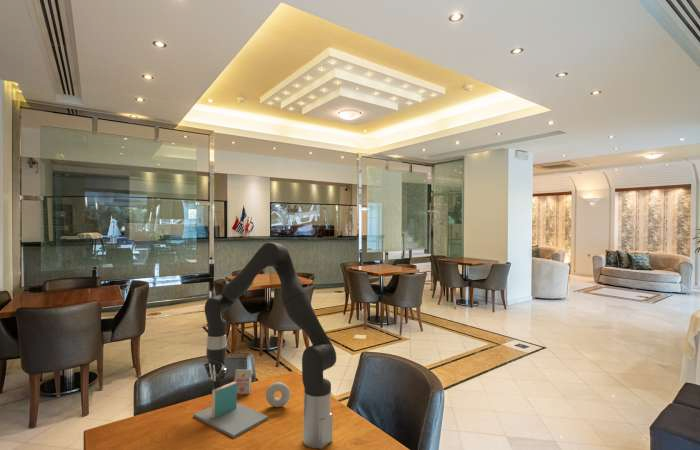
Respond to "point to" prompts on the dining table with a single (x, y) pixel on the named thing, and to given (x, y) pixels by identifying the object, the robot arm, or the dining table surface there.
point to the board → (232, 420)
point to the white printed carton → (243, 381)
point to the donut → (272, 399)
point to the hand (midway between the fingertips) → (215, 389)
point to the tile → (224, 399)
